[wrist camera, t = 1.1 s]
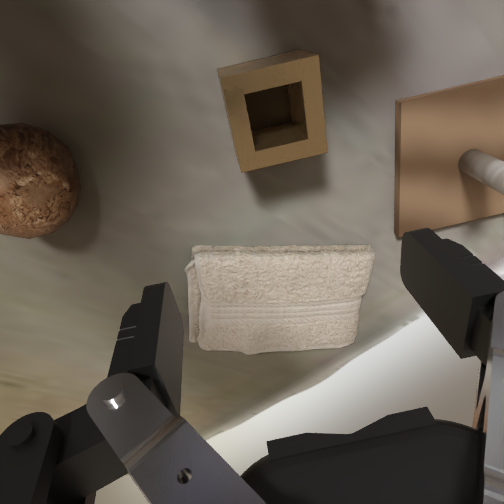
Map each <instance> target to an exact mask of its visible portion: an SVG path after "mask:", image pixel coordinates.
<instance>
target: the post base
mask: <svg viewBox="0 0 504 504" xmlns="http://www.w3.org/2000/svg"><path fill="white" fill-rule="evenodd" d="M502 213H504V75H502V76H498V77H494V78H490V79H485V80H481V81H477V82H473V83H468V84H464V85H460V86H456V87H451V88H447V89H443V90H438V91H434V92H430V93H426V94H421V95H417V96H413V97H409V98H404V99H400V100H396V115H395V213H394V233H395V234H396V235H397V236H398V237H402V236H403V234H404V233H405V232H408V231H413V230H418V229H422V228H430V229H431V230H433V229H437V228H442V227H446V226H450V225H454V224H459V223H463V222H467V221H472V220H476V219H480V218H484V217H489V216H493V215H497V214H502Z"/></svg>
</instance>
